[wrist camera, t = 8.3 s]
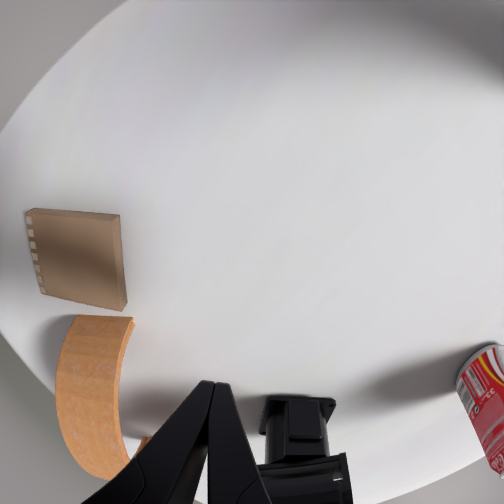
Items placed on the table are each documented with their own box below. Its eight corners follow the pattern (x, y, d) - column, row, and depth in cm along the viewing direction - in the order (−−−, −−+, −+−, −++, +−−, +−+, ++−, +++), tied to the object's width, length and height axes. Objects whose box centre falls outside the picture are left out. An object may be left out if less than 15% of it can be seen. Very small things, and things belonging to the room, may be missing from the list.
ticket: (127, 302, 22) (121, 312, 21) (48, 286, 22) (40, 294, 21) (119, 215, 19) (110, 221, 18) (34, 208, 19) (24, 213, 18)
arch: (135, 316, 23) (82, 414, 14) (186, 445, 31) (172, 515, 22) (78, 313, 23) (19, 394, 14) (143, 439, 32) (123, 504, 22)
